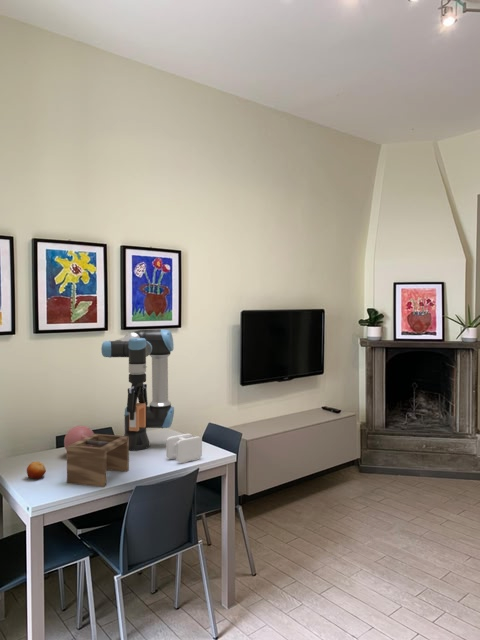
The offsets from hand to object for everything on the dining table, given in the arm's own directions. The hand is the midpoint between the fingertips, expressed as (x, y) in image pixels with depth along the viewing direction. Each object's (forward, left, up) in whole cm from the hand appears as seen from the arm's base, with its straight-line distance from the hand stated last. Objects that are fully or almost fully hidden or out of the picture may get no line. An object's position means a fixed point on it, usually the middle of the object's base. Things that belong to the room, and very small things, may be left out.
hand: (137, 424), depth 209 cm
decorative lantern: (-23, -43, -25) cm, 55 cm away
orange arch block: (0, 0, -2) cm, 2 cm away
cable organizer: (-33, +9, -25) cm, 42 cm away
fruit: (+9, -45, -25) cm, 52 cm away
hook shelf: (0, -19, -25) cm, 31 cm away
